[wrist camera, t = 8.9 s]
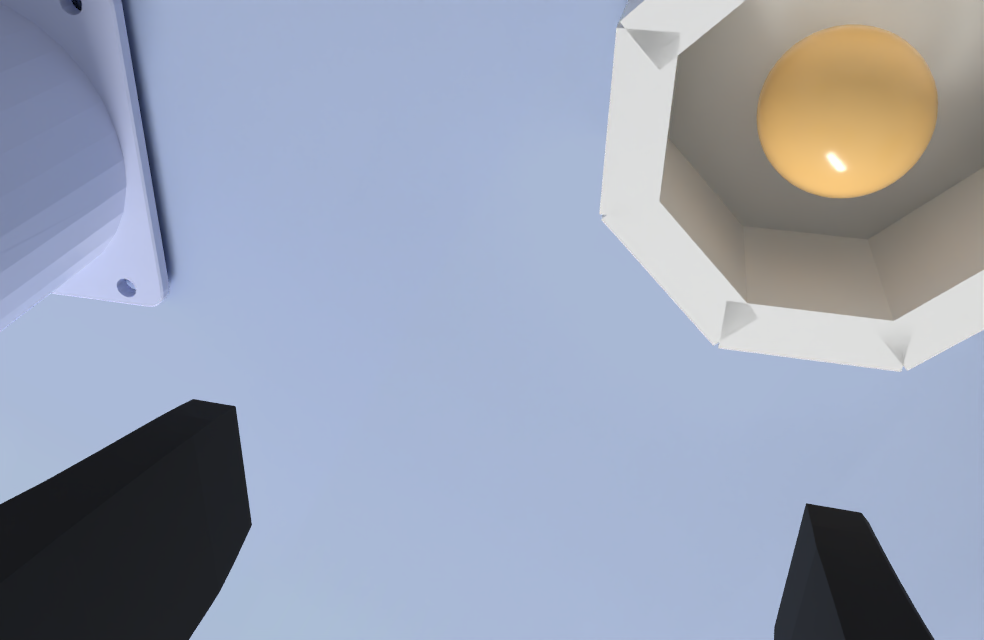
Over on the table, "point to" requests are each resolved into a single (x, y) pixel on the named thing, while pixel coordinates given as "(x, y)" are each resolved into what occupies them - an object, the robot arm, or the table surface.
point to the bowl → (805, 171)
